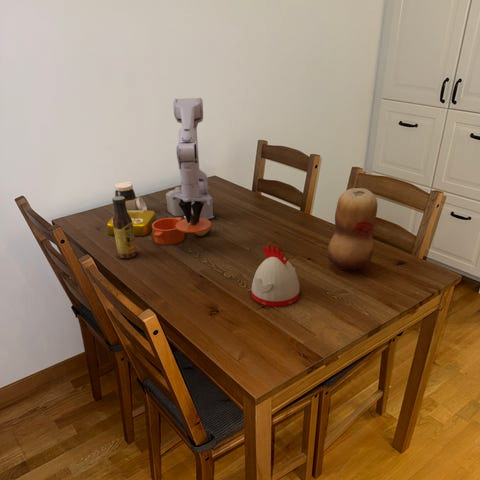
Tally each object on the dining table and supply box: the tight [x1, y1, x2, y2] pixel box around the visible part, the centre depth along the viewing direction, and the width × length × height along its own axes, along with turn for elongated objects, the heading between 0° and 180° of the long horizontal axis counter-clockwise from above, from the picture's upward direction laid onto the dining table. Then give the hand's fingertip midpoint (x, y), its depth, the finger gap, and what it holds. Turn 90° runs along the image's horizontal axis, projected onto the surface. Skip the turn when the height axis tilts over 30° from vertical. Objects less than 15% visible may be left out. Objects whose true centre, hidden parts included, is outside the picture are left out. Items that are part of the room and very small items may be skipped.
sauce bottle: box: [111, 196, 137, 259], centre depth 155 cm, size 7×6×20 cm
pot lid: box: [176, 214, 212, 234], centre depth 159 cm, size 12×12×4 cm
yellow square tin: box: [106, 209, 157, 237], centre depth 179 cm, size 15×15×5 cm
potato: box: [194, 228, 210, 237], centre depth 172 cm, size 7×5×5 cm, turn 157°
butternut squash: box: [327, 187, 378, 272], centre depth 142 cm, size 14×13×25 cm
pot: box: [151, 216, 186, 246], centre depth 170 cm, size 11×17×5 cm
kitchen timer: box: [250, 243, 300, 307], centre depth 133 cm, size 14×14×15 cm
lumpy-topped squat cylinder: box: [165, 186, 185, 217], centre depth 192 cm, size 10×13×9 cm
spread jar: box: [114, 181, 148, 210], centre depth 189 cm, size 12×11×12 cm
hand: (193, 222), depth 159 cm, fingers closed on pot lid, 2 cm apart
